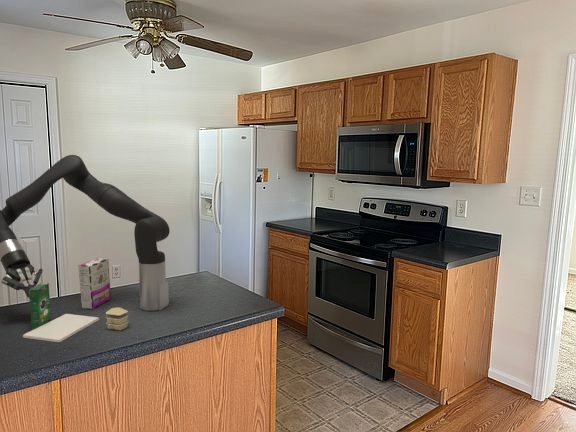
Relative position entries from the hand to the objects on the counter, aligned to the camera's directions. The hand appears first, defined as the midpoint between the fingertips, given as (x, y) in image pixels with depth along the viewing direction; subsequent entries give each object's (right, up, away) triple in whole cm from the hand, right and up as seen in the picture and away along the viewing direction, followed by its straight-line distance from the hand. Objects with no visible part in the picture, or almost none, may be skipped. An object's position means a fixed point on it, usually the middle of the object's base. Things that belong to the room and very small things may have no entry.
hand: (33, 297), depth 140 cm
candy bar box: (+12, -6, +19) cm, 23 cm away
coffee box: (+3, -9, -1) cm, 10 cm away
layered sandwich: (+28, -10, -2) cm, 30 cm away
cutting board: (+12, -9, -4) cm, 15 cm away
